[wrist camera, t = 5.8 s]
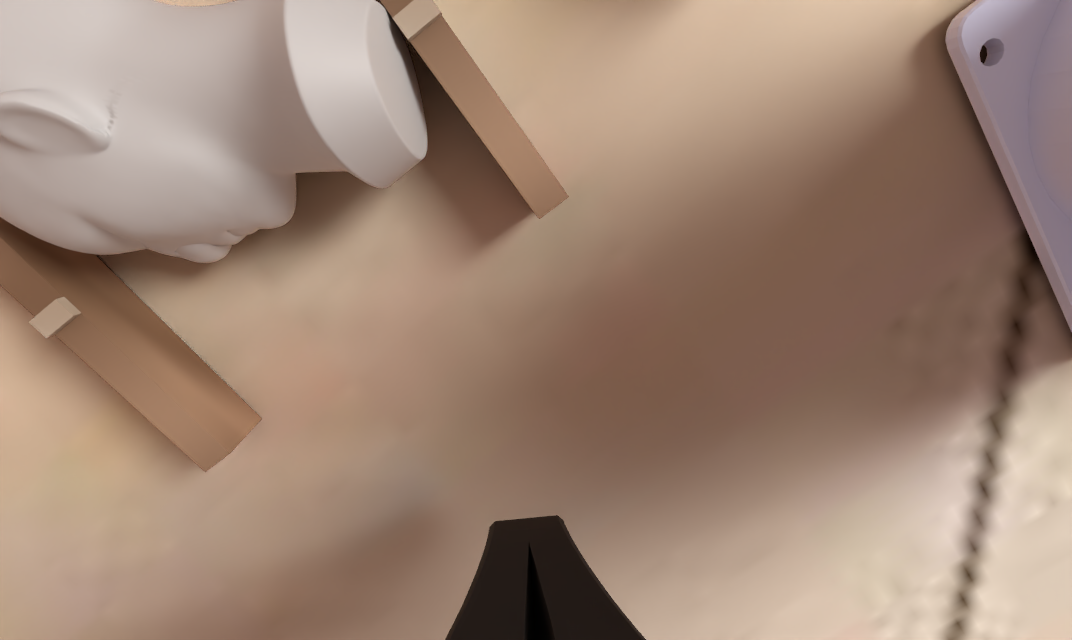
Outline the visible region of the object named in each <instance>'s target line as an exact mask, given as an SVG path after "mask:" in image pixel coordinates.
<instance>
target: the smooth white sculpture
mask: <svg viewBox="0 0 1072 640" xmlns="http://www.w3.org/2000/svg"><path fill="white" fill-rule="evenodd" d="M426 153H427V128H426V121H425V115H424V109H423V104H422V99H421V94H420V89H419V85H418V81H417V77H416V73H415V69H414V66H413V62H412V59H411V56H410V53H409V50H408V47H407V45H406V42H405V40H404V37H403V35H402V33H401V31H400V29H399V27H398V25H397V24H396V23H395V21H394V20H393V18H392V17H391V15H390V14H389V13H388V11H387V10H386V9H385V8H384V7H383V6H382V5H381V4H380V3H379V2H377V1H376V0H237V1H233V2H229V3H224V4H218V5H210V6H176V5H169V4H165V3H161V2H157V1H154V0H0V217H1V218H3V219H4V220H6V221H7V222H9V223H11V224H12V225H14V226H16V227H18V228H19V229H21V230H23V231H25V232H27V233H29V234H31V235H33V236H35V237H37V238H39V239H41V240H44V241H46V242H48V243H51V244H54V245H56V246H59V247H62V248H66V249H69V250H73V251H77V252H82V253H88V254H98V255H112V254H121V253H127V252H133V251H138V250H144V249H149V250H152V251H155V252H158V253H161V254H165V255H169V256H174V257H179V258H183V259H186V260H189V261H193V262H198V263H212V262H216V261H219V260H221V259H222V258H224V257H225V256H226V255H227V254H228V252H229V251H230V249H231V246H232V245H234V244H237V243H238V242H240V241H241V240H242V239H244V238H245V237H246V235H250V234H253V233H255V232H256V231H257V230H259V229H273V228H278V227H281V226H283V225H285V224H286V223H288V222H289V221H290V219H291V218H292V216H293V214H294V211H295V207H296V173H302V172H332V171H348V172H349V173H351V174H352V175H354V176H355V177H357V178H358V179H360V180H362V181H363V182H365V183H366V184H368V185H370V186H373V187H375V188H380V189H384V188H388V187H389V186H391V185H392V184H393V183H395V182H396V181H397V180H398V179H399V178H401V177H402V176H403V175H404V174H406V173H407V172H408V171H409V170H410V169H412V168H413V167H414V166H415V165H416V164H418V163H419V162H420V161H421V160H423V159H424V158H425V156H426Z"/></svg>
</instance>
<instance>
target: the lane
mask: <svg viewBox="0 0 1072 640" xmlns="http://www.w3.org/2000/svg"><path fill="white" fill-rule="evenodd" d="M379 1H380V2H381V4H382V5H383V7H384V8H385V9H386V10H387V11H388V13H389V14H390V15H391V17H392V18H393V20H394V21H395V23H396V24H397V25H398V27H399V29H400V30H401V31H402V33H403V34H404V35H405V37H406V38H407V39H408V41H409V42H410V44H411V45H412V46H413V48H414V49H415V50H416V52H417V53H418V55H419V56H420V57H421V59H422V60H423V61H424V63H425V64H426V66H427V67H428V68H429V70H430V71H431V72H432V74H433V75H434V76H435V78H436V79H437V81H438V82H439V83H440V85H441V86H442V87H443V89H444V90H445V92H446V93H447V94H448V96H449V97H450V98H451V100H452V101H453V103H454V104H455V105H456V107H457V108H458V109H459V111H460V112H461V114H462V115H463V116H464V118H465V119H466V120H467V122H468V123H469V124H470V126H471V127H472V129H473V130H474V131H475V133H476V134H477V135H478V137H479V138H480V140H481V141H482V142H483V144H484V145H485V146H486V148H487V149H488V151H489V152H490V153H491V155H492V156H493V157H494V159H495V160H496V161H497V163H498V164H499V166H500V167H501V168H502V170H503V171H504V172H505V174H506V175H507V177H508V178H509V179H510V181H511V182H512V183H513V185H514V186H515V188H516V189H517V190H518V192H519V193H520V194H521V196H522V197H523V198H524V200H525V201H526V203H527V204H528V205H529V207H530V208H531V209H532V211H533V212H534V213H535V215H536V216H537V217H538V218H539V219H540V218H542V217H543V216H544V215H546V214H547V213H548V212H550V211H551V210H552V209H553V208H555V207H556V206H557V205H559V204H560V203H561V202H563V201H564V200H565V199H567V198H568V197H569V196H568V195H567V193H566V192H565V191H564V189H563V188H562V186H561V185H560V183H559V182H558V181H557V179H556V178H555V176H554V175H553V173H552V172H551V171H550V169H549V168H548V166H547V165H546V163H545V162H544V161H543V159H542V158H541V156H540V155H539V153H538V152H537V151H536V149H535V148H534V146H533V145H532V143H531V142H530V141H529V139H528V138H527V136H526V135H525V134H524V132H523V131H522V129H521V128H520V126H519V125H518V124H517V122H516V121H515V119H514V118H513V116H512V115H511V114H510V112H509V111H508V109H507V108H506V106H505V105H504V104H503V102H502V101H501V99H500V98H499V96H498V95H497V94H496V92H495V91H494V89H493V88H492V87H491V85H490V84H489V82H488V81H487V79H486V78H485V77H484V75H483V74H482V72H481V71H480V69H479V68H478V67H477V65H476V64H475V62H474V61H473V59H472V58H471V57H470V55H469V54H468V52H467V51H466V49H465V48H464V47H463V45H462V44H461V42H460V41H459V40H458V38H457V37H456V35H455V34H454V32H453V31H452V30H451V28H450V27H449V25H448V24H447V22H446V21H445V20H444V18H443V17H442V13H441V11H440V10H439V8H438V7H437V5H436V4H435V3H434V1H433V0H379ZM0 285H1V286H2V287H3V288H4V289H5V290H6V291H7V292H8V293H9V294H11V295H12V296H13V297H14V298H15V299H16V300H17V301H18V302H19V303H20V304H22V305H23V306H24V307H25V308H26V309H27V310H28V311H29V312H30V313H31V314H32V315H34V316H35V317H34V318H33V319H31V320H30V321H29V323H30V324H31V325H32V326H33V327H34V328H35V329H36V330H37V331H38V332H40V333H41V334H42V335H43V336H44V337H45V338H49V337H51V336H54V335H56V336H57V337H58V338H59V339H60V340H61V341H62V342H63V343H64V344H65V345H66V346H68V347H69V348H70V349H71V350H72V351H73V352H74V353H75V354H76V355H77V356H79V357H80V358H81V359H82V360H83V361H84V362H85V363H86V364H87V365H88V366H89V367H91V368H92V369H93V370H94V371H95V372H96V373H97V374H98V375H99V376H100V377H102V378H103V379H104V380H105V381H106V382H107V383H108V384H109V385H110V386H111V387H112V388H114V389H115V390H116V391H117V392H118V393H119V394H120V395H121V396H122V397H123V398H125V399H126V400H127V401H128V402H129V403H130V404H131V405H132V406H133V407H134V408H135V409H137V410H138V411H139V412H140V413H141V414H142V415H143V416H144V417H145V418H146V419H148V420H149V421H150V422H151V423H152V424H153V425H154V426H155V427H156V428H157V429H159V430H160V431H161V432H162V433H163V434H164V435H165V436H166V437H167V438H168V439H169V440H171V441H172V442H173V443H174V444H175V445H176V446H177V447H178V448H179V449H180V450H182V451H183V452H184V453H185V454H186V455H187V456H188V457H189V458H190V459H191V460H192V461H194V462H195V463H196V464H197V465H198V466H199V467H200V468H201V469H202V470H203V471H205V472H206V471H207V470H209V469H210V468H211V467H213V466H214V465H215V464H217V463H218V462H219V461H221V460H222V459H223V458H225V457H226V456H227V455H228V454H230V453H231V452H232V451H233V450H234V448H235V447H236V446H237V445H238V444H239V443H240V442H241V441H242V440H243V439H244V438H245V437H246V435H247V434H248V433H249V432H250V431H251V430H252V429H253V428H254V427H255V426H256V425H257V424H258V422H259V421H260V420H261V419H262V418H261V417H260V416H259V415H258V414H257V413H256V412H255V411H253V410H252V409H251V408H250V407H249V406H248V405H247V404H246V403H245V402H244V401H243V400H242V399H241V398H240V397H239V396H238V395H237V394H236V393H235V392H234V391H233V390H232V389H231V388H230V387H229V386H228V385H227V384H226V383H225V382H224V381H223V380H222V379H221V378H220V377H219V376H218V375H217V374H216V373H215V372H214V371H213V370H212V369H211V368H210V367H209V366H208V365H207V364H206V363H205V362H204V361H203V360H202V359H201V358H200V357H199V356H198V355H197V354H196V353H195V352H193V351H192V350H191V349H190V348H189V347H188V346H187V345H186V344H185V343H184V342H183V341H182V340H181V339H180V338H179V337H178V336H177V335H176V334H175V333H174V332H173V331H172V330H171V329H170V328H169V327H168V326H167V325H166V324H165V323H164V322H163V321H162V320H161V319H160V318H159V317H158V316H157V315H156V314H155V313H154V312H153V311H152V310H151V309H150V308H149V307H148V306H147V305H146V304H145V303H144V302H143V301H142V300H141V299H140V298H139V297H138V296H137V295H136V294H134V293H133V292H132V291H131V290H130V289H129V288H128V287H127V286H126V285H125V284H124V283H123V282H122V281H121V280H120V279H119V278H118V277H117V276H116V275H115V274H114V273H113V272H112V271H111V270H110V269H109V268H108V267H107V266H106V265H105V264H104V263H103V262H102V261H101V260H100V259H99V258H98V257H97V256H96V255H95V254H88V253H82V252H77V251H73V250H69V249H66V248H62V247H59V246H56V245H54V244H51V243H48V242H46V241H44V240H41V239H39V238H37V237H35V236H33V235H31V234H29V233H27V232H25V231H23V230H21V229H19V228H18V227H16V226H14V225H12V224H11V223H9V222H7V221H6V220H4V219H3V218H1V217H0Z"/></svg>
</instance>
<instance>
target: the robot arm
mask: <svg viewBox="0 0 1072 640" xmlns="http://www.w3.org/2000/svg"><path fill="white" fill-rule="evenodd" d="M945 41H946V46H947V50H948V52H949V55H950V57H951V59H952V61H953V64H954V66H955V68H956V71H957V73H958V75H959V77H960V80H961V82H962V84H963V86H964V89H965V91H966V93H967V96H968V98H969V100H970V102H971V105H972V107H973V109H974V111H975V114H976V116H977V118H978V121H979V123H980V125H981V127H982V130H983V132H984V134H985V137H986V139H987V141H988V143H989V146H990V148H991V150H992V152H993V155H994V157H995V159H996V162H997V164H998V166H999V168H1000V171H1001V173H1002V175H1003V177H1004V180H1005V182H1006V184H1007V187H1008V189H1009V191H1010V193H1011V196H1012V198H1013V200H1014V202H1015V205H1016V207H1017V209H1018V212H1019V214H1020V216H1021V218H1022V221H1023V223H1024V225H1025V227H1026V230H1027V232H1028V234H1029V237H1030V239H1031V241H1032V243H1033V246H1034V248H1035V250H1036V252H1037V255H1038V257H1039V259H1040V262H1041V264H1042V266H1043V268H1044V271H1045V273H1046V275H1047V278H1048V280H1049V282H1050V284H1051V287H1052V289H1053V291H1054V293H1055V296H1056V298H1057V300H1058V303H1059V305H1060V307H1061V309H1062V312H1063V314H1064V316H1065V318H1066V321H1067V323H1068V325H1069V328H1070V330H1071V332H1072V0H976V1H975V2H973V3H972V4H970V5H969V6H968V7H966V8H965V9H964V10H962V11H961V12H960V13H958V14H957V15H956V17H955V18H954V19H953V20H952V21H951V23H950V25H949V27H948V29H947V33H946V40H945ZM983 45H984V46H985V47H986V48H987V58H986V61H985V63H984V64H983V63H982V62H981V61H980V51H981V48H982V46H983ZM445 640H646V639H645V638H644V637H643V636H642V634H641V633H640V632H639V631H638V630H637V629H636V628H635V626H634V625H633V624H632V623H631V621H630V620H629V619H628V618H627V617H626V615H625V614H624V613H623V612H622V611H621V609H620V608H619V607H618V605H617V604H616V603H615V602H614V600H613V599H612V598H611V596H610V595H609V594H608V592H607V591H606V590H605V588H604V587H603V585H602V584H601V583H600V581H599V580H598V578H597V577H596V576H595V574H594V573H593V571H592V570H591V568H590V567H589V565H588V564H587V562H586V561H585V559H584V558H583V556H582V555H581V553H580V551H579V550H578V548H577V546H576V545H575V543H574V541H573V540H572V538H571V536H570V534H569V532H568V530H567V528H566V526H565V524H564V521H563V520H562V519H561V518H560V517H559V516H557V515H556V516H546V517H536V518H525V519H515V520H505V521H495V522H494V523H493V524H492V525H491V526H490V528H489V534H488V538H487V542H486V546H485V549H484V552H483V555H482V558H481V561H480V564H479V567H478V569H477V572H476V575H475V577H474V579H473V582H472V584H471V586H470V589H469V591H468V594H467V596H466V598H465V601H464V603H463V605H462V607H461V609H460V611H459V613H458V615H457V617H456V619H455V621H454V623H453V625H452V627H451V629H450V631H449V633H448V635H447V637H446V639H445Z"/></svg>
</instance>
